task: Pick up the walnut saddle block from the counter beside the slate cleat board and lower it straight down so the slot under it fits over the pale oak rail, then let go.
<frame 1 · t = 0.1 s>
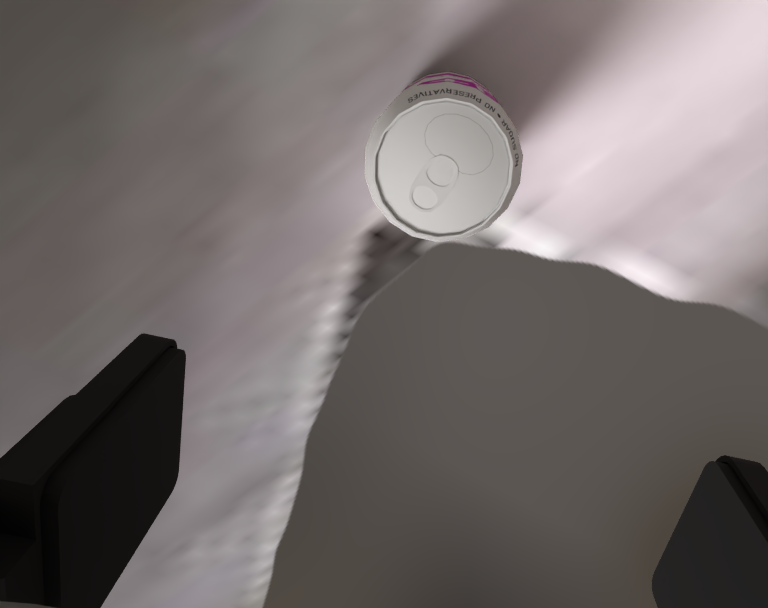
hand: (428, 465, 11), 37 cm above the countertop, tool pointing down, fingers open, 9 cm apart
supplement can: (444, 131, 45), on the countertop
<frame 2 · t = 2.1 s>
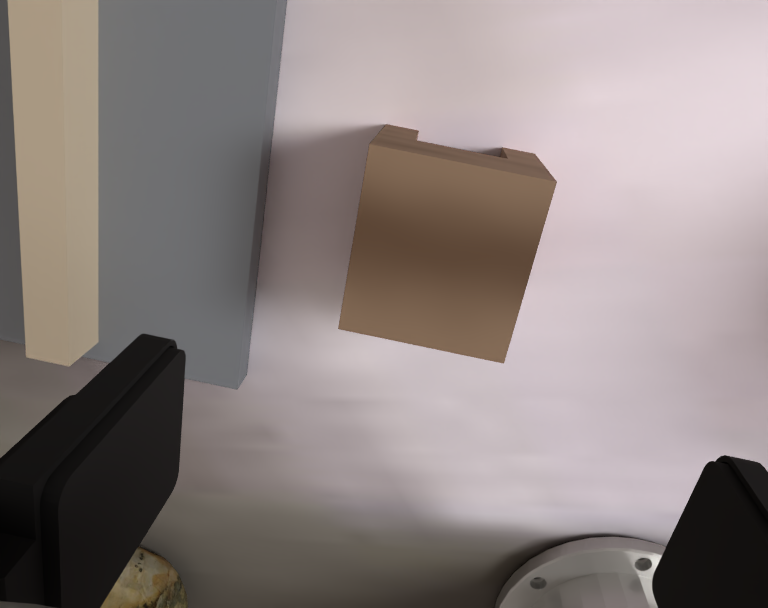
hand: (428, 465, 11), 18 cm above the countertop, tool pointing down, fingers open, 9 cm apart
cleat board: (94, 147, 28), on the countertop
saddle block: (442, 218, 28), on the countertop
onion: (145, 567, 38), on the countertop
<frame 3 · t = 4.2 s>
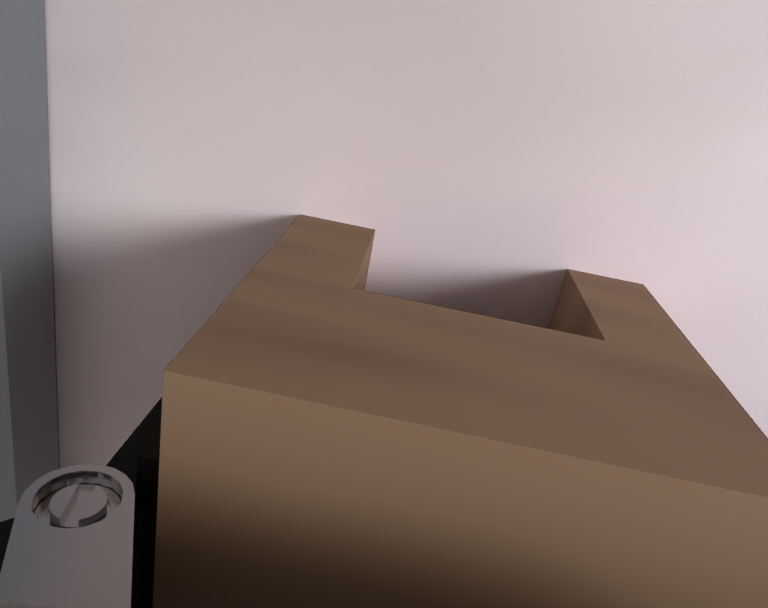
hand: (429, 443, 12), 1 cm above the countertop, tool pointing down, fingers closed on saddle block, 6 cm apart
saddle block: (431, 408, 13), on the countertop, touching gripper
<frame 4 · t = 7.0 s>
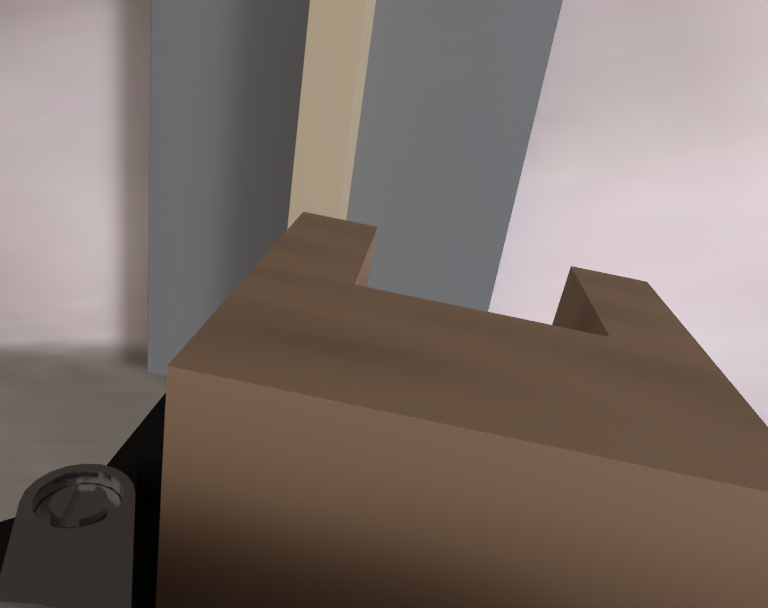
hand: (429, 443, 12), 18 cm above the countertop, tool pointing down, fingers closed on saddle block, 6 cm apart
cleat board: (331, 202, 29), on the countertop
saddle block: (433, 406, 13), point 17 cm above the countertop, touching gripper
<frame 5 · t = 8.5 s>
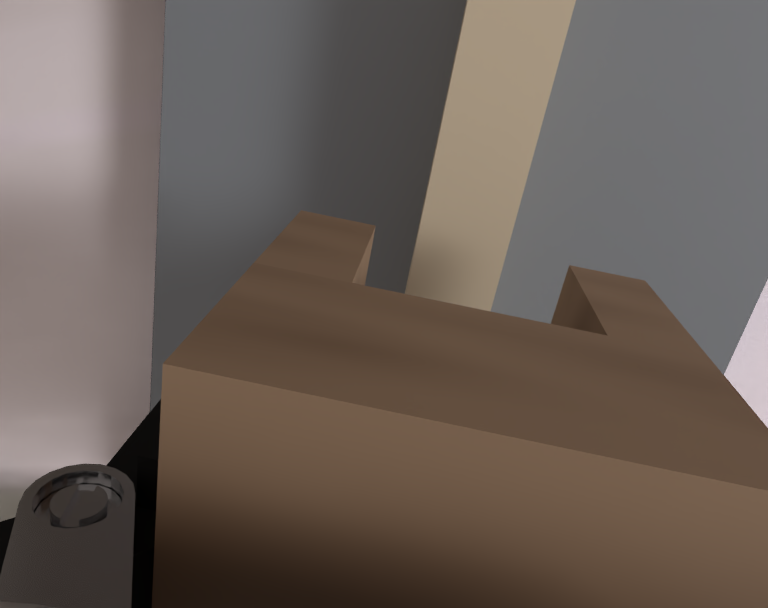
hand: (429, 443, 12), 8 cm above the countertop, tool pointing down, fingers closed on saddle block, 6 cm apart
cleat board: (438, 295, 19), on the countertop
saddle block: (432, 405, 13), point 6 cm above the countertop, touching gripper
when the fingers open (4 cm above the countertop, at t = 9.8 s): saddle block stays where it is, resting on cleat board.
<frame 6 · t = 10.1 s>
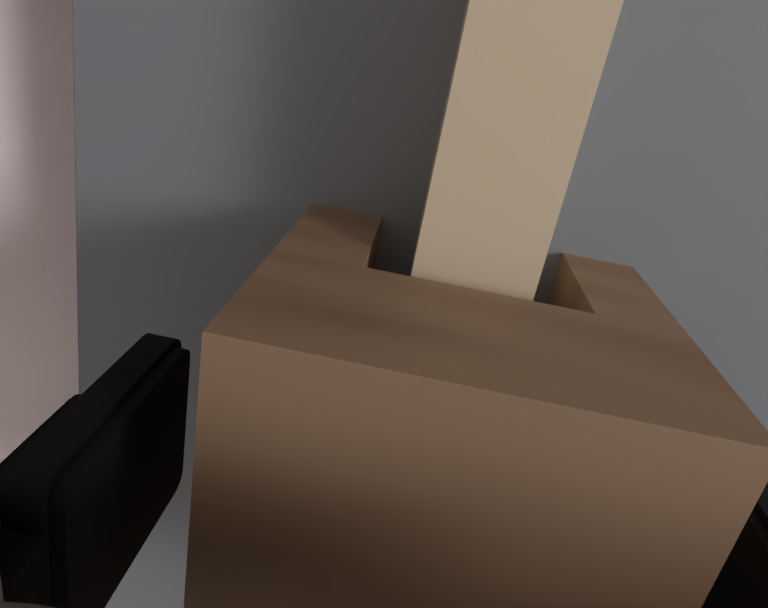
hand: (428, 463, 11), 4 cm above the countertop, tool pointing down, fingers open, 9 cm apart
cleat board: (434, 354, 15), on the countertop
saddle block: (435, 386, 14), point 1 cm above the countertop, touching cleat board
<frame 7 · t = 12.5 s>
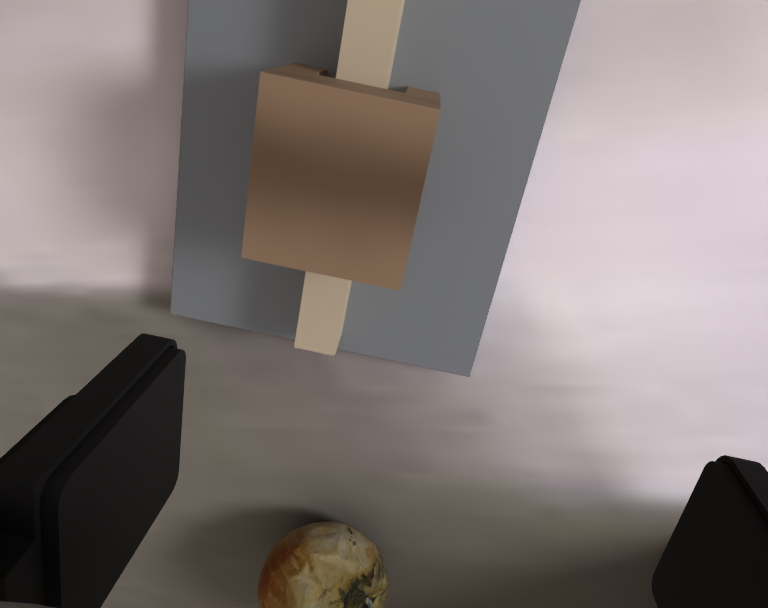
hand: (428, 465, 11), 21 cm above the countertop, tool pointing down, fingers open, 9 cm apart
cleat board: (356, 151, 30), on the countertop
saddle block: (354, 157, 29), point 1 cm above the countertop, touching cleat board
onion: (335, 541, 41), on the countertop
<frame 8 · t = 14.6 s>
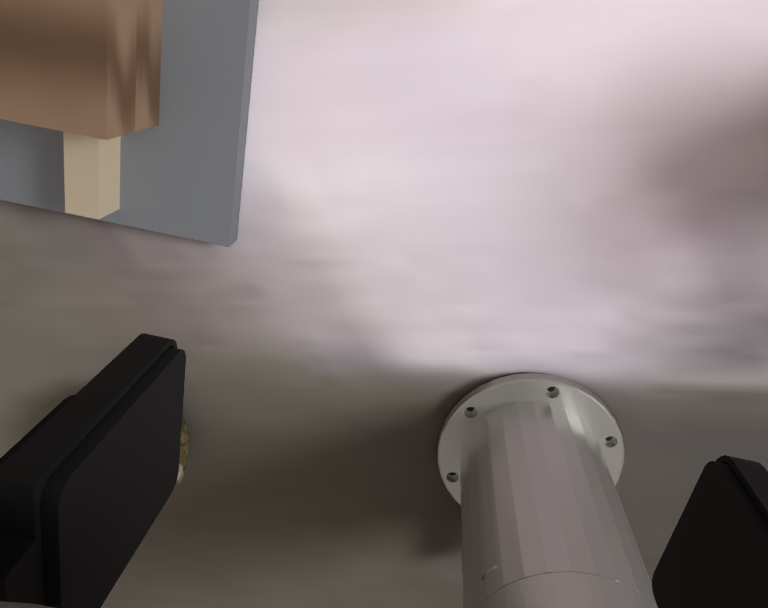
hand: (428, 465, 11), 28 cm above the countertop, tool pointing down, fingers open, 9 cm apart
cleat board: (117, 50, 36), on the countertop
saddle block: (105, 50, 35), point 1 cm above the countertop, touching cleat board
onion: (154, 415, 46), on the countertop
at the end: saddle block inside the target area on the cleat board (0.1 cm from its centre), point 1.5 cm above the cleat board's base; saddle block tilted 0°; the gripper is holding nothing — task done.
